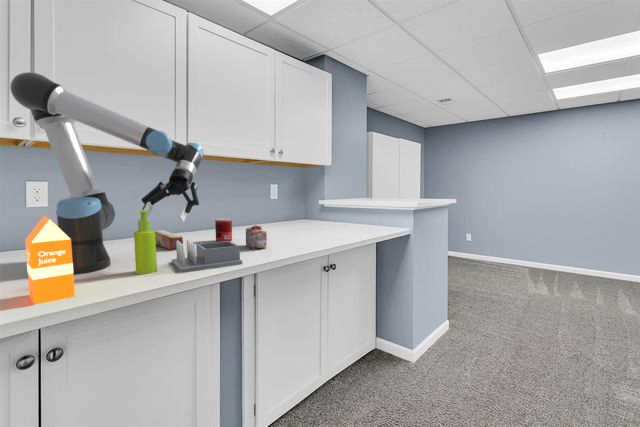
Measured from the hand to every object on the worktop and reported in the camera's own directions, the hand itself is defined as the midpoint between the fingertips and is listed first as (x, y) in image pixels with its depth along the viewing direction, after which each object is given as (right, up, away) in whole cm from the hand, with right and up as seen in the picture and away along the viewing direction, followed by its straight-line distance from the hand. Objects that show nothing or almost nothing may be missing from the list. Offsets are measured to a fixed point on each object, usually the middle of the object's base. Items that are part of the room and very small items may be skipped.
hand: (161, 219), depth 107 cm
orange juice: (-14, -19, -28) cm, 36 cm away
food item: (+25, -13, +35) cm, 45 cm away
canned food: (+6, -12, +50) cm, 52 cm away
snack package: (-15, -13, +36) cm, 41 cm away
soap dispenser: (-2, -17, -6) cm, 18 cm away
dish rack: (+13, -16, +6) cm, 21 cm away
